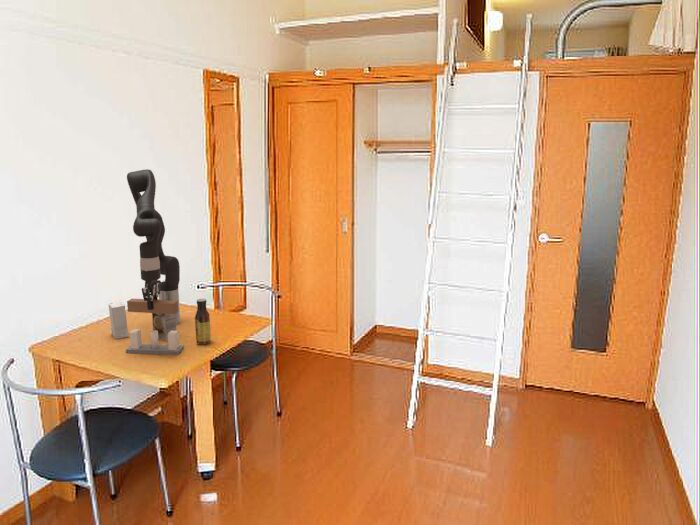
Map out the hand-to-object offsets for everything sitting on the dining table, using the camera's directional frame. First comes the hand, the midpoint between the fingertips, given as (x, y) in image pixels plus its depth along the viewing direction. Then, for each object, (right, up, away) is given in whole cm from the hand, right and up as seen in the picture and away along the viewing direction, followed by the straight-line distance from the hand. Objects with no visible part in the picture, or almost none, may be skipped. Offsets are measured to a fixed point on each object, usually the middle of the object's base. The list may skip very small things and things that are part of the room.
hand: (152, 307), depth 221 cm
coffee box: (-2, -15, +20) cm, 25 cm away
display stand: (0, -19, +4) cm, 19 cm away
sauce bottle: (+17, -17, +14) cm, 28 cm away
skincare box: (-23, -15, +21) cm, 34 cm away
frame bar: (0, -2, 0) cm, 2 cm away
